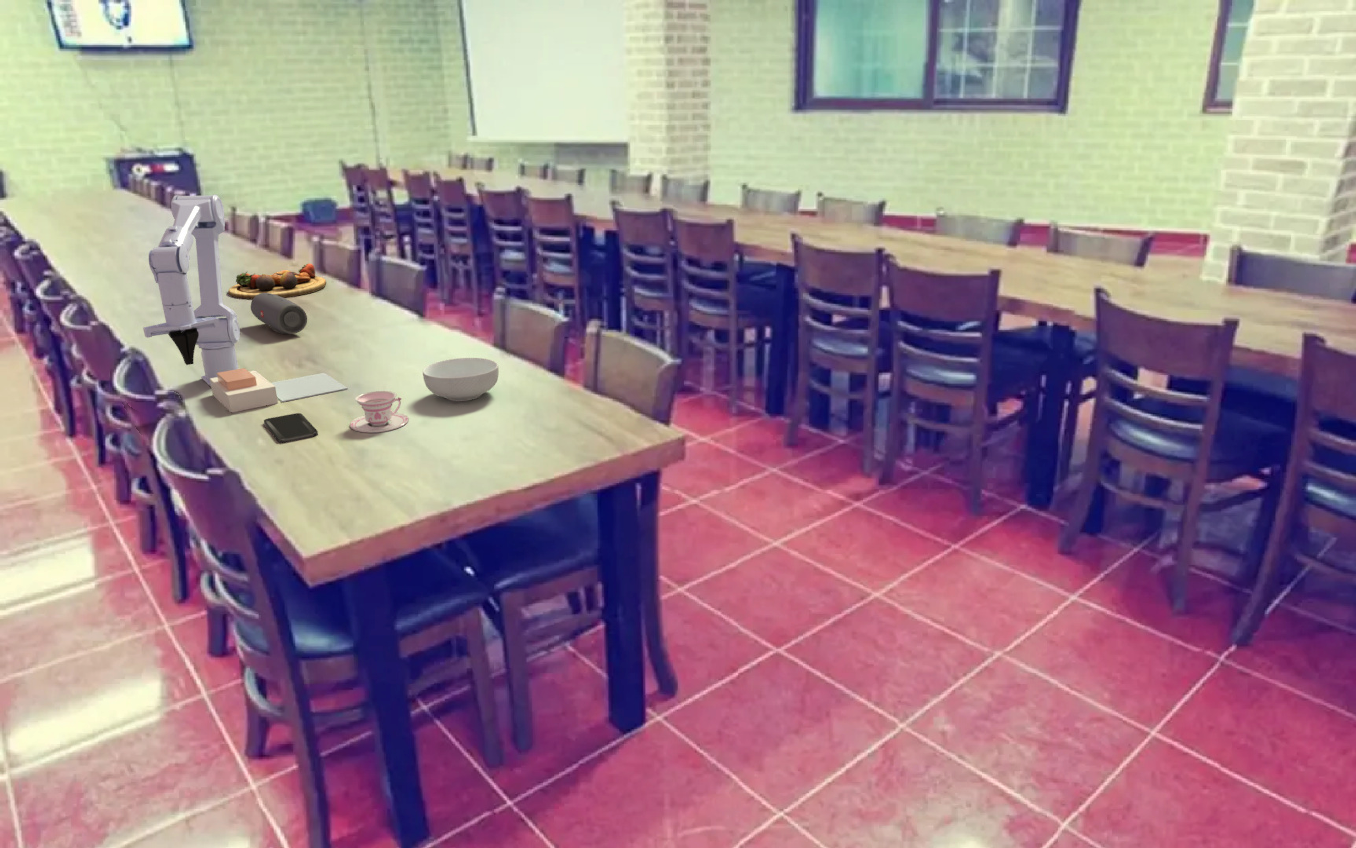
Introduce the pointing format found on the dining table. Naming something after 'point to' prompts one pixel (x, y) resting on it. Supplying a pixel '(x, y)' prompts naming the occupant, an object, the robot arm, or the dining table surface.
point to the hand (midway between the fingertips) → (189, 363)
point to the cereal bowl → (461, 378)
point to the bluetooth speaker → (279, 313)
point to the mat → (306, 387)
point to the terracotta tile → (236, 379)
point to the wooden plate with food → (278, 283)
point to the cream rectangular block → (245, 394)
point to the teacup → (378, 412)
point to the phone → (290, 427)
